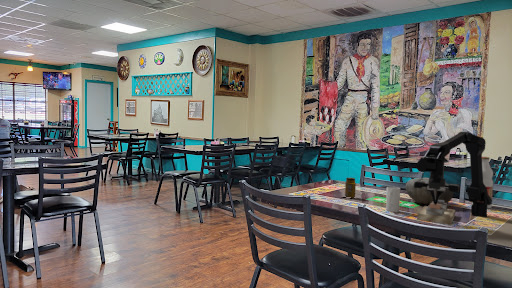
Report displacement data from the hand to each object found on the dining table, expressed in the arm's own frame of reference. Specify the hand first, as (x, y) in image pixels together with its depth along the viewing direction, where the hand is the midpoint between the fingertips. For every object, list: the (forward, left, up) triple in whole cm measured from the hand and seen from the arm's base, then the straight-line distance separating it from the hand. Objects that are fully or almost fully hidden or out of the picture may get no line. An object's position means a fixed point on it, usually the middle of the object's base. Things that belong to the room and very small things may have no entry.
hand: (435, 204), depth 173 cm
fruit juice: (-17, -51, -8) cm, 54 cm away
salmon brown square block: (0, 0, -3) cm, 3 cm away
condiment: (+51, -27, -8) cm, 58 cm away
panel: (0, -6, -8) cm, 10 cm away
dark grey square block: (0, -12, -3) cm, 12 cm away
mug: (+21, -6, -8) cm, 23 cm away
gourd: (+9, -41, -8) cm, 43 cm away
